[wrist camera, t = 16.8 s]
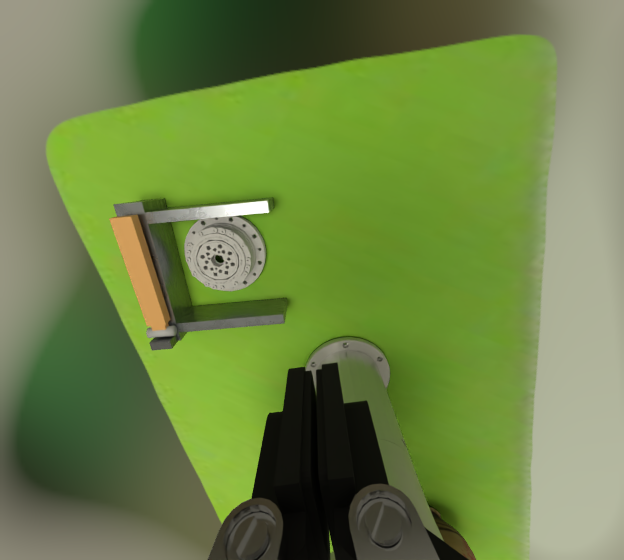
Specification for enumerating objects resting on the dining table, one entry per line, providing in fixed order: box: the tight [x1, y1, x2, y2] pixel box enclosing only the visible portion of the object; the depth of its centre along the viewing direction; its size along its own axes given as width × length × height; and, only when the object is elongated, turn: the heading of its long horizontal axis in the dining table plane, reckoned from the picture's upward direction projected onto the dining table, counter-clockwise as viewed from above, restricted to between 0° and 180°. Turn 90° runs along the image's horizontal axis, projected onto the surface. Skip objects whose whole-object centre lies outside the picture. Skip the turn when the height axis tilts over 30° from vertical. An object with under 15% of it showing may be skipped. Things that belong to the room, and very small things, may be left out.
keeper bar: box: [109, 215, 177, 338], centre depth 32 cm, size 14×3×1 cm, turn 5°
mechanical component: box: [184, 215, 266, 291], centre depth 35 cm, size 10×4×10 cm
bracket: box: [114, 198, 287, 350], centre depth 34 cm, size 17×16×7 cm
